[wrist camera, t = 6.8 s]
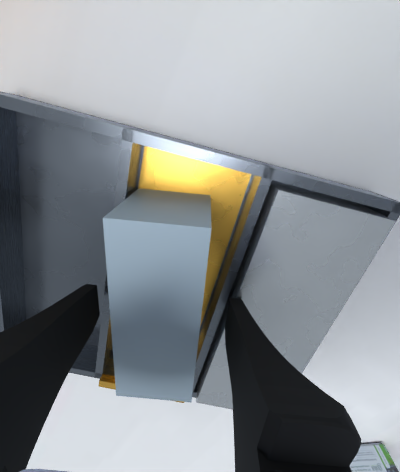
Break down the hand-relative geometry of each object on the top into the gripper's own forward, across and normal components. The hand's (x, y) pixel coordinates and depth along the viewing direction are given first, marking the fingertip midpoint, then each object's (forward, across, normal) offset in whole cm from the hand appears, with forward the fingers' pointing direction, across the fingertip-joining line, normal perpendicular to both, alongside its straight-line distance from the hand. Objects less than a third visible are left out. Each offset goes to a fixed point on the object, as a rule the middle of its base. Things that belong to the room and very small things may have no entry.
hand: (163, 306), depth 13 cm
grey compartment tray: (+3, 0, 0) cm, 3 cm away
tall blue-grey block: (+3, 0, -1) cm, 3 cm away
